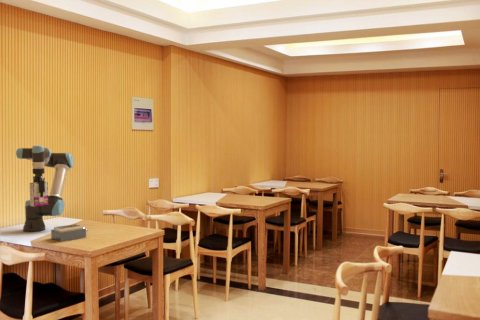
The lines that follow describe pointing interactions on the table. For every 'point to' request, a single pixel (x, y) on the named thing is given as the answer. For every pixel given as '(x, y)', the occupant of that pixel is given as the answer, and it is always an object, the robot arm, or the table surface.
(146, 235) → the table surface
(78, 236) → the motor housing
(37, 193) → the candy bar box
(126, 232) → the table surface
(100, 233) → the table surface
